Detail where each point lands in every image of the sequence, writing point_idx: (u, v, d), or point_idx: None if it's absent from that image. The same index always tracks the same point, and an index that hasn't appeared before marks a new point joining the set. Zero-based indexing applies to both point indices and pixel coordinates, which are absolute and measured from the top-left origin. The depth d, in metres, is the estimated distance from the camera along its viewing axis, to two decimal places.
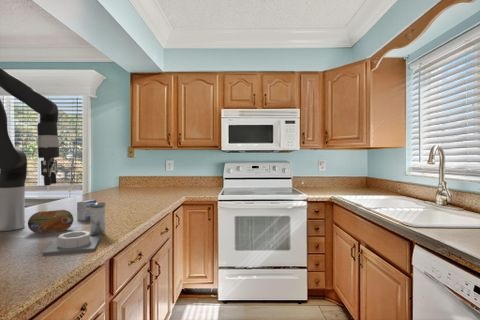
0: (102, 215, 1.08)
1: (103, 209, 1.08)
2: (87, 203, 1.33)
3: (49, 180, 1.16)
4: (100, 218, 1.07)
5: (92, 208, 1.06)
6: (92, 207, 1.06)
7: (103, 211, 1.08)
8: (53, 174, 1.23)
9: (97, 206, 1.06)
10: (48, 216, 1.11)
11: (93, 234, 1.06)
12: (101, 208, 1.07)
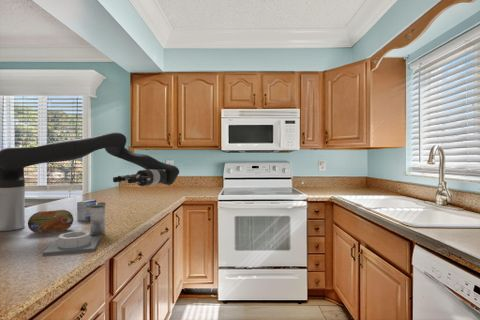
0: (102, 215, 1.08)
1: (103, 209, 1.08)
2: (87, 203, 1.33)
3: (132, 182, 1.19)
4: (100, 218, 1.07)
5: (92, 208, 1.06)
6: (92, 207, 1.06)
7: (103, 211, 1.08)
8: (121, 179, 1.24)
9: (97, 206, 1.06)
10: (48, 216, 1.11)
11: (93, 234, 1.06)
12: (101, 208, 1.07)
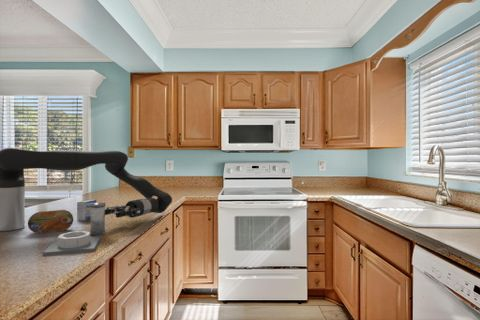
0: (102, 215, 1.08)
1: (103, 209, 1.08)
2: (87, 203, 1.33)
3: (121, 216, 1.14)
4: (100, 218, 1.07)
5: (92, 208, 1.06)
6: (92, 207, 1.06)
7: (103, 211, 1.08)
8: (110, 212, 1.19)
9: (97, 206, 1.06)
10: (48, 216, 1.11)
11: (93, 234, 1.06)
12: (101, 208, 1.07)
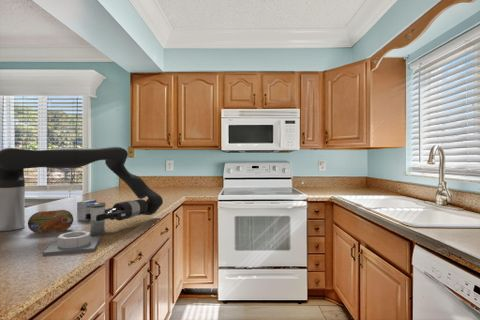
0: None
1: (103, 209, 1.08)
2: (87, 203, 1.33)
3: (102, 219, 1.07)
4: None
5: (92, 208, 1.06)
6: (92, 206, 1.06)
7: (103, 211, 1.08)
8: None
9: (97, 206, 1.06)
10: (48, 216, 1.11)
11: (93, 234, 1.06)
12: (101, 208, 1.07)
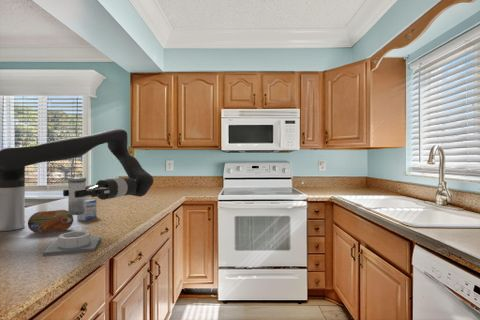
0: None
1: (83, 184, 0.94)
2: (87, 203, 1.33)
3: (81, 196, 0.93)
4: None
5: (70, 183, 0.92)
6: (70, 181, 0.92)
7: (83, 187, 0.94)
8: None
9: (76, 180, 0.92)
10: (48, 216, 1.11)
11: (71, 213, 0.92)
12: (80, 183, 0.93)
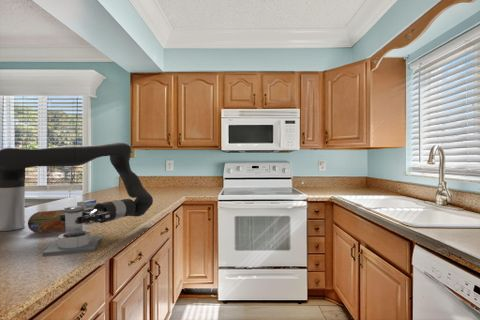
0: None
1: (80, 214, 0.93)
2: (87, 203, 1.33)
3: (84, 222, 0.92)
4: (76, 225, 0.92)
5: (67, 213, 0.91)
6: (67, 212, 0.91)
7: (80, 216, 0.93)
8: None
9: (72, 211, 0.91)
10: (48, 216, 1.11)
11: None
12: (77, 213, 0.92)
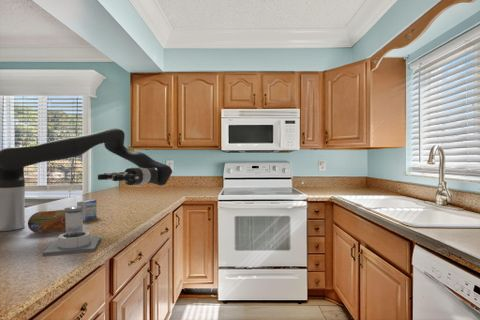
0: (79, 221, 0.93)
1: (80, 214, 0.93)
2: (87, 203, 1.33)
3: (118, 180, 1.08)
4: (76, 225, 0.92)
5: (67, 213, 0.92)
6: (67, 212, 0.91)
7: (80, 216, 0.94)
8: (107, 177, 1.14)
9: (73, 211, 0.91)
10: (48, 216, 1.11)
11: None
12: (77, 213, 0.92)
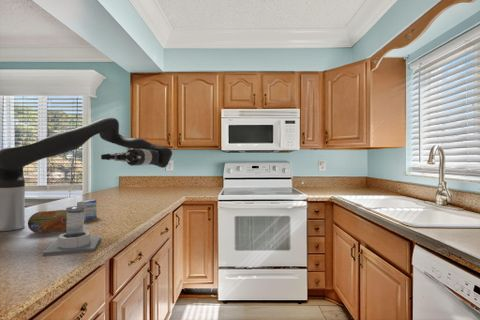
0: (80, 221, 0.93)
1: (82, 214, 0.94)
2: (87, 203, 1.33)
3: (122, 159, 1.12)
4: (77, 225, 0.92)
5: (68, 213, 0.92)
6: (68, 211, 0.92)
7: (82, 217, 0.94)
8: (110, 157, 1.18)
9: (74, 211, 0.92)
10: (48, 216, 1.11)
11: None
12: (79, 213, 0.93)
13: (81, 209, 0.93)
